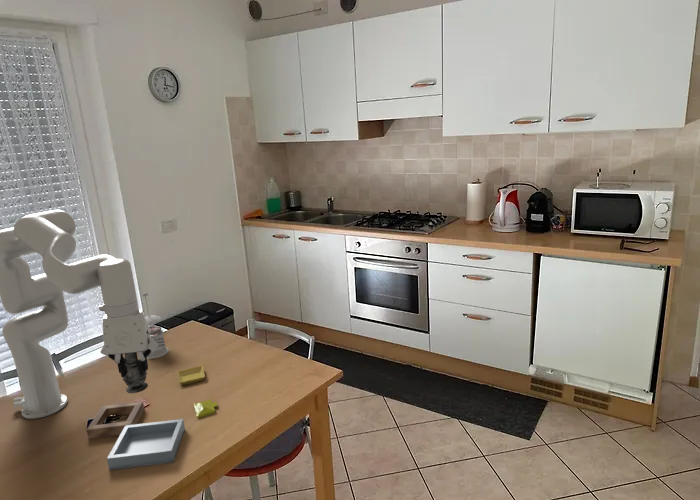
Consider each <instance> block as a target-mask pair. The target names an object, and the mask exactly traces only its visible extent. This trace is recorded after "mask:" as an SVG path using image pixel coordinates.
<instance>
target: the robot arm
mask: <svg viewBox="0 0 700 500" xmlns="http://www.w3.org/2000/svg"><path fill="white" fill-rule="evenodd" d="M75 232H76V222H75V220H74V218H73V216H72V215H71V214H70V213H68V212H67V211H65V210H61V209H54V210H47V211H46V210H45V211H43V212H36V213H31V214H27V215H24V216H22V217H20V218H18V219H17V221H15V223H14V225H13V227H9V228H4V229H0V301H1V304H2V307H3V309H4V311H6V312H7V313H9V314H12V315H13V314H14V315H15V314H20V313H21V315H19V316H16V317H13V318H12V319H10V320H8V321H7V322H5V324H4V325H3V327H2V337H3V338H4V341H5V342H6V344H7V347H8V348H9V350H10V352H11V356H12V359H13V362H14V365H15V369H16V372H17V376H18V382H19V385H20V387H21V392H22V395H23V396H19V397H14V398H13V400H12V402H13V407H14V408H17V407H19V408H20V407H22V409H21V411H20V413H21V416H22V417H23V418H25V419H29V420H30V419H31V420H35V419H42V418H45V417H47V416H51V415H53V414H55V413H57V412H59V411H60V410H62V409H63V408H65V406H66V405H67V403H68V401H69V400H68V397H67V395H65V394H62V393H61V391H60V387H59V382H58V378H57V373H56V371H55V366H54V365H55V364H54V361H53V359H52V354H51V352H50V351H49V349H47V347H44V346H42V345H40V343H41V342H43V341H45V340H48V339H49V338H52V337H54V336H57V335H59V334H62V333H63V332H65V331H66V330H67V328H68V327H69V316H68V311H67V306H66V301H65V297H64V292H65V293H67V294H71V295H75V294H76V295H77V294H81V293H84V292H86V291H89V290H92V289H95V288H98V287H100V291H101V296H102V301H103V304H102V305H99V307H98V310H99V311H100V312H104V315H103V316H102V337H103V346H102V348H101V350H100V354H102V355H103V356H106V357H108V358H110V359H111V360H112V361H114V363H115V364H117V367H118V368H117V369H118V372H119V374H120V376H121V378H123V377H125V376H126V374H127V366H126V365H125V363H126V359H125V356H124V355H125V353H135V352H137V357H138V359H139V362H138V363H139V369H140V374H141V375H144V374H145V372H147V371H148V370H149V364H148V359H147V356H148V355H149V354H150V353H151V352H152V351H154V350H155V349H156V348H157V347H158V343H157V342H156V341H155V340H154V339H153V338H152V337H151V336H152V335H150V333H149V329H148V327H149V325H147V322H146V319H145V317H146V316H145V314H144V312H143V310H142V308H139V307H140V306H139V303H138V297H137V292H136V291H137V290H136V285H135V281H134V280H135V279H134V275H133V274H134V273H133V269H132V265H131V261H129V260H128V259H126V258H118V257H117V258H116V257H115V256H113V255H110V254H106V253H105V254H99V255H96V256H92V257H89V258H86V259H82V260H78V261H75V262H71V263H66V262H67V261H68V260H69V259H70V258H71V257H72V256H73V255H74V253H75V251H76V248H77V241H76V239H75V237H74V234H75ZM33 254H38V255H40V256H41V257H42V263H41V264H42V268H43V272H44V273H39V274H37V275H36V274H35V275H32V274H31V269H30V265H29V263H28V262H27V261H26V260H25V259H24V258H22V257H24V256H28V255H33ZM42 306H43V307H42ZM39 307H42V308H39ZM37 308H39V309H37ZM33 309H35V310H33ZM31 310H33V311H31ZM28 311H30V312H28ZM25 312H26V313H25ZM22 313H24V314H22ZM148 344H149V345H150V347H148ZM147 347H148V348H147ZM146 348H147V350H146Z"/></svg>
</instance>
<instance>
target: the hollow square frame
mask: <svg viewBox="0 0 700 500" xmlns="http://www.w3.org/2000/svg"><path fill="white" fill-rule="evenodd" d="M144 412H145V405H144V401H143V400H142V401H133V402H126V403H117V404H109V405H108V404H107V405H102V406H101V408H99V410H98V412H97V413H96V415H95V416H94V418H93V419H92V421H91V422H90V424H89V425H88V427H87V428H86V433H87V437H88V439H89V440H91V439H97V438H98V439H99V438H100V439H101V438H105V437H106V438H107V437H115V436H120V434H121V432H122V431H123V429H124V427H125V426H126V425H135V424H139V422H140V419H141V417H142V416H143V414H144ZM110 415H123V416H128V417H127V419H126V421H119V422H112V423H104V421H105V419H106V418H107V417H108V416H110ZM108 418H109V417H108ZM108 418H107V419H108ZM103 423H104V424H103Z"/></svg>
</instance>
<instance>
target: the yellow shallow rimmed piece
mask: <svg viewBox="0 0 700 500" xmlns="http://www.w3.org/2000/svg"><path fill="white" fill-rule="evenodd" d="M205 378H206V374H205V369H204V366H203V365H200V366H196V367H191V368H187V369H182V370H178V371H177V379H178V380H177V381H178V383H179V384H180V385H182V386H184V385H189V384H194V383H197V382H202V381H203V380H204V379H205Z"/></svg>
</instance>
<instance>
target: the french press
mask: <svg viewBox="0 0 700 500" xmlns="http://www.w3.org/2000/svg"><path fill="white" fill-rule="evenodd" d="M148 295H149V294H148V292H145V291H144V292H143V293H142V297H145V299H147V296H148ZM145 301H146V308H147V310H149V306H148V302H147V300H145ZM147 314H148V315H146V316H145V319H146V322H147V325H148V329H149V333H150V336H151V337H152V338H153V339H154V340H155V341H156V342H157V343H158V347H157V348H156V349H155V350H154V351H152V352H151V353H150V354H149V355H148V356H147V360H149V359H150V360H152V359H157V358H161V357H164V356H165V355H167V354H168V353H169V351H170V350H169V348H168V347H166V343H165V337H164V331H163V330H162V327H161V326H157V325H155V326H152V325H154V324H157V323H158V322H160V321H161V320H162V319H161V316H158V315H155V314H154V315H150V313H149V311H147ZM148 347H150V345H149V344H148ZM148 347H147V348H148ZM147 348H146V350H147Z"/></svg>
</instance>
